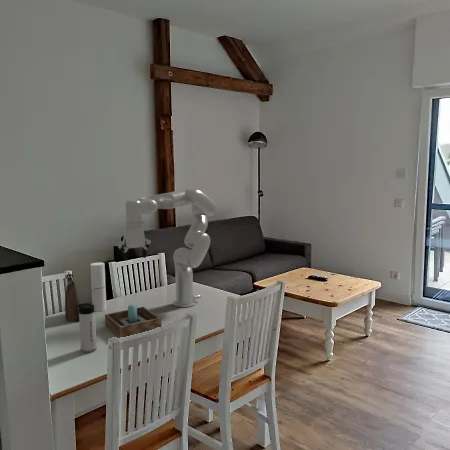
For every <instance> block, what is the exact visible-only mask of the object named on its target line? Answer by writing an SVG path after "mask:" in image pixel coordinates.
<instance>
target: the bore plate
mask: <svg viewBox="0 0 450 450" xmlns="http://www.w3.org/2000/svg"><path fill="white" fill-rule="evenodd" d="M143 321H146V320H145V319H143V318H142V317H141V316H139V315H137V322H134V323H138V322H143ZM134 323H129V319H128V317H127V318H123V319H118V324H120V325H121V326H125V325H129V324H134Z"/></svg>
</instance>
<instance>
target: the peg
mask: <svg viewBox="0 0 450 450" xmlns="http://www.w3.org/2000/svg"><path fill="white" fill-rule="evenodd" d="M137 308H138V307H137V304H129V305H128V306H127V310H128V319H129V323H134V322H137Z"/></svg>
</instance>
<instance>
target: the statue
mask: <svg viewBox="0 0 450 450" xmlns="http://www.w3.org/2000/svg"><path fill="white" fill-rule="evenodd" d="M64 278H65V279H66V283H67V284H66V289H65V297H64V315H65V316H64V317H65V320H66V321H67V322H69V323H70V322H71V323H80V321H79V306H78V305H79V304H80V299H79V294H78V291H77V290H78V289H77V287H76V284H75V281H74V280H73V279H74V274H71V273H70V272H69V271H68V272H67V274H65V275H64Z"/></svg>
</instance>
